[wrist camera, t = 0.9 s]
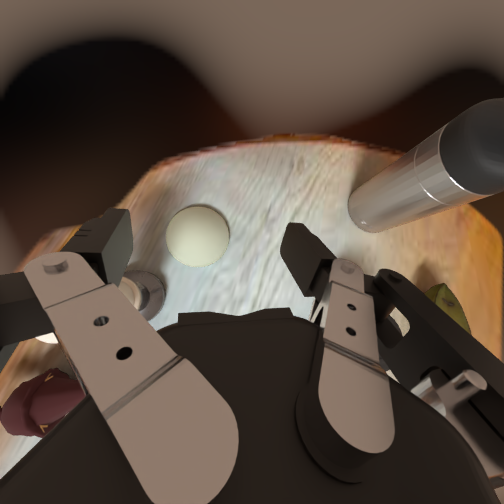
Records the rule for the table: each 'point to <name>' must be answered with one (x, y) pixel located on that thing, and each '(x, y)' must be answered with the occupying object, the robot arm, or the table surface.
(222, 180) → the table surface
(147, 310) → the dark grey stepped piece
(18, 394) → the brown turtle figurine
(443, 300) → the fruit
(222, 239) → the coaster
